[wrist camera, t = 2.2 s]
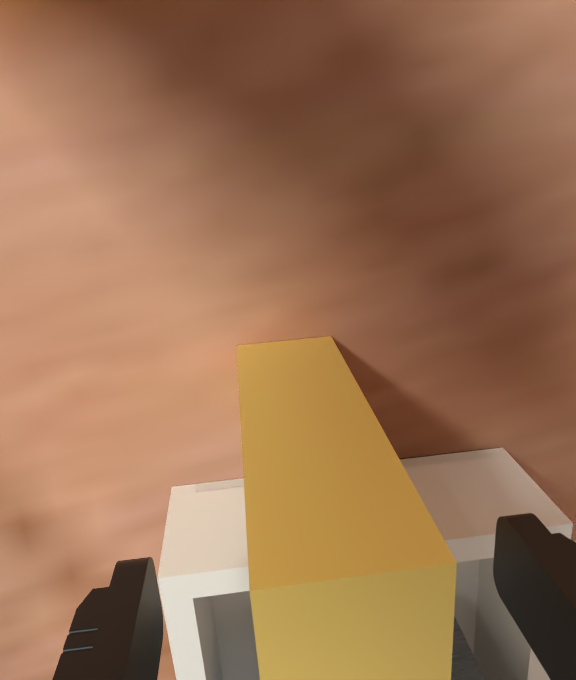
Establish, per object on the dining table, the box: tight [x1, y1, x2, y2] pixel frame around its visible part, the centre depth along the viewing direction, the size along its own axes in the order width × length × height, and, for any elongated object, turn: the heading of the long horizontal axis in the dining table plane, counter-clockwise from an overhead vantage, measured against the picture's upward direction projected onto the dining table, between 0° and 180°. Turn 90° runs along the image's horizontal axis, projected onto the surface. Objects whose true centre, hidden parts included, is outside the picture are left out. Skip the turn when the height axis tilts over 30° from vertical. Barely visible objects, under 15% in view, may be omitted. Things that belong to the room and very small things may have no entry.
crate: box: [157, 447, 573, 680], centre depth 23 cm, size 16×14×5 cm
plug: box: [236, 336, 457, 680], centre depth 16 cm, size 4×4×12 cm
